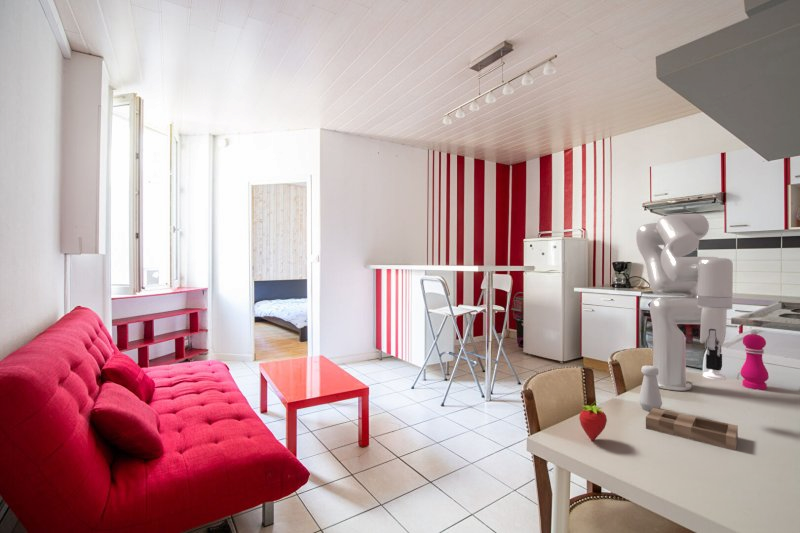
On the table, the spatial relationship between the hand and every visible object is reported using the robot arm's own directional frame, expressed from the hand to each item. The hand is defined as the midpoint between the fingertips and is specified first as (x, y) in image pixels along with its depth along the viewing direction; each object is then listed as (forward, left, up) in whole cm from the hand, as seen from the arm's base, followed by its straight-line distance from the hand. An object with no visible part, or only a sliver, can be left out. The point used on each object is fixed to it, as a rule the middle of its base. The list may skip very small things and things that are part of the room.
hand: (714, 367), depth 107 cm
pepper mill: (-44, +7, -15) cm, 47 cm away
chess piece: (0, 0, -3) cm, 3 cm away
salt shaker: (+3, -15, -15) cm, 21 cm away
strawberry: (+36, -21, -15) cm, 44 cm away
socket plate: (+15, -4, -15) cm, 21 cm away
